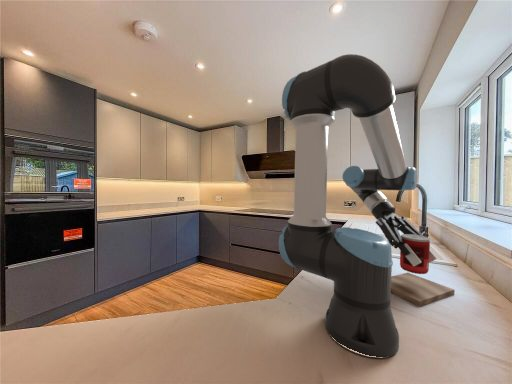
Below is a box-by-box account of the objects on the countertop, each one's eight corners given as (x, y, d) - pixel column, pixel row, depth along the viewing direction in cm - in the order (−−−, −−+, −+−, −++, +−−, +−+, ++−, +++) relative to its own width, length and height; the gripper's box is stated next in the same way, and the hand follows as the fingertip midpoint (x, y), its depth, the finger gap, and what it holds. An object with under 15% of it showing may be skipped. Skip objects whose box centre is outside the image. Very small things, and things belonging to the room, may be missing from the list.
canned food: (417, 265, 73) (419, 234, 73) (435, 275, 65) (436, 240, 65) (394, 264, 74) (395, 233, 73) (408, 274, 66) (410, 239, 66)
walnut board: (420, 306, 59) (420, 301, 59) (374, 284, 72) (374, 280, 72) (454, 294, 66) (454, 289, 66) (407, 276, 79) (407, 272, 79)
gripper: (390, 211, 87) (434, 263, 73) (354, 213, 79) (395, 272, 65) (404, 199, 82) (454, 252, 68) (366, 200, 74) (415, 261, 60)
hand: (425, 262), depth 66 cm, fingers closed on canned food, 8 cm apart
